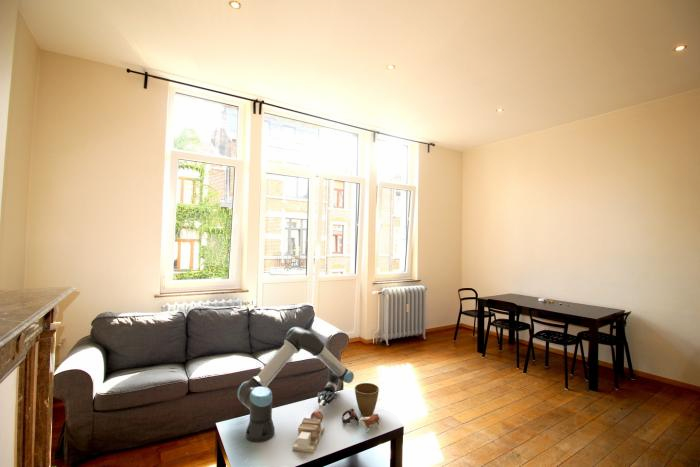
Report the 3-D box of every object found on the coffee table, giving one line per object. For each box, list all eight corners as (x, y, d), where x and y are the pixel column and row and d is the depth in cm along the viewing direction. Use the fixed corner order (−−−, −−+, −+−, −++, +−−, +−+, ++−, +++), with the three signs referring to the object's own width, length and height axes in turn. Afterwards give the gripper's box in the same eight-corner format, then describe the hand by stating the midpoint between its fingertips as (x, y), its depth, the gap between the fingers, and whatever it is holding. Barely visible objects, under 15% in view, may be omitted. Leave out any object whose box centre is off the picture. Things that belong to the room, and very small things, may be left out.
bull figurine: (357, 431, 186) (357, 416, 186) (376, 424, 193) (376, 410, 193) (361, 435, 182) (362, 420, 182) (381, 428, 189) (381, 413, 190)
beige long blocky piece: (313, 453, 166) (313, 436, 166) (292, 450, 168) (292, 433, 168) (323, 431, 186) (323, 416, 186) (304, 428, 188) (305, 414, 188)
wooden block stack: (313, 443, 172) (313, 430, 172) (300, 442, 174) (300, 428, 174) (323, 423, 192) (323, 411, 192) (311, 422, 193) (311, 410, 193)
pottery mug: (360, 429, 189) (353, 417, 188) (345, 434, 191) (339, 423, 189) (360, 413, 201) (354, 402, 199) (347, 418, 202) (340, 408, 201)
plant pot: (351, 410, 209) (351, 384, 210) (373, 406, 214) (373, 381, 214) (359, 422, 195) (359, 394, 196) (382, 418, 200) (382, 391, 200)
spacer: (307, 449, 166) (307, 439, 166) (297, 448, 167) (297, 437, 167) (310, 442, 172) (310, 432, 172) (301, 441, 173) (301, 431, 173)
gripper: (339, 396, 221) (330, 414, 198) (320, 394, 223) (309, 412, 200) (339, 385, 221) (331, 401, 198) (320, 383, 224) (309, 399, 200)
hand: (320, 407), depth 199 cm, fingers closed
